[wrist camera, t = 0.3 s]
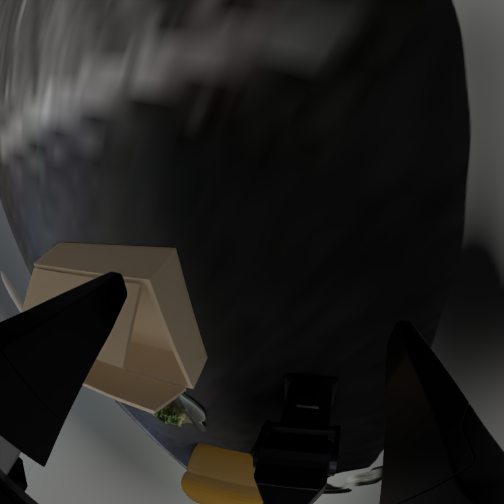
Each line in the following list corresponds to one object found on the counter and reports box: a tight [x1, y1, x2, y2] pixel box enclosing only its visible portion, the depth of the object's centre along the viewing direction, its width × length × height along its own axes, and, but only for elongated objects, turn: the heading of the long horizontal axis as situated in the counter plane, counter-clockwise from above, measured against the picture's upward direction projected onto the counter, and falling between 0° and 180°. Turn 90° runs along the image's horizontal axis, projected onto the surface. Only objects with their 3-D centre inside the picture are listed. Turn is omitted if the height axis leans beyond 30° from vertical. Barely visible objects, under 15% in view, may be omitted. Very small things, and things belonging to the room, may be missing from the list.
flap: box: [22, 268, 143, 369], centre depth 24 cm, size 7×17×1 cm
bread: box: [181, 443, 263, 504], centre depth 51 cm, size 24×13×15 cm, turn 97°
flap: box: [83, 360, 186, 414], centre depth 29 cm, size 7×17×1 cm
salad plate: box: [123, 369, 206, 432], centre depth 45 cm, size 19×18×5 cm
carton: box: [34, 242, 208, 389], centre depth 31 cm, size 16×18×5 cm
